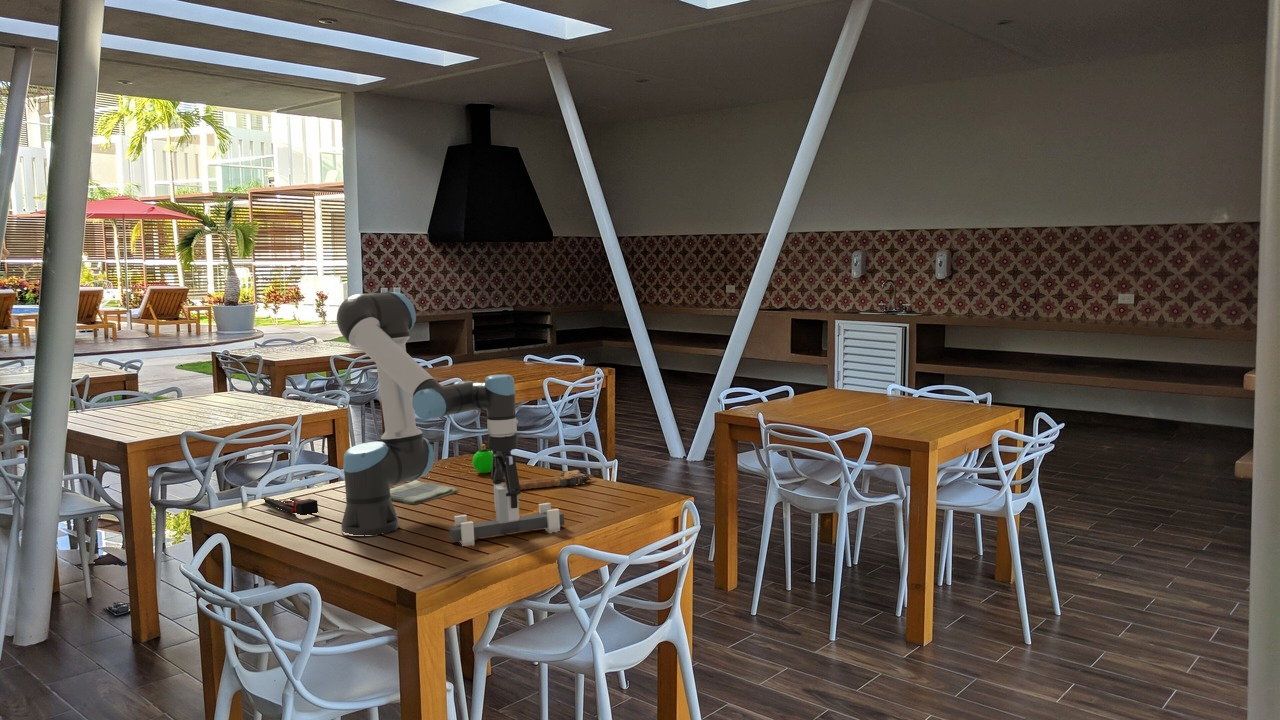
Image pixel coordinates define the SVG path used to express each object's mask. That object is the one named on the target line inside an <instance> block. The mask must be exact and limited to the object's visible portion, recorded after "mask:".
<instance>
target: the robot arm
mask: <svg viewBox="0 0 1280 720" xmlns="http://www.w3.org/2000/svg"><path fill="white" fill-rule="evenodd" d="M416 321H417V314H416V309H415V306H414V304H413V302H412V301H411V299H410V298H408V297H407V296H406V295H405V294H404V293H402V292H396V291H384V292H371V293H357V294H356V293H355V294H353V295H349V296H348V297H347V298H345V299H344V300H343V301H342V302H341V304H340V305H339V307H338V310H337V314H336V323H337V325H336V326H337V328H338V330H339V332H340V333H341V335H342V337H343V338H344V339H345V340H346V341H347V343H349V344H350V345H351V346H352V347H353V348H360V349H361V351H363V353H365V355H367V356H368V357H369V358H370V359H371V360H372V361H373V362H374V363H375V364H376V370H377V371H376V372H377V378H378V379H377V380H378V387H379V394H380V400H381V401H380V402H381V407H382V409H381V410H382V416H383V422H384V423H383V424H384V433H383V434H382V435H381V437H380V441H369V442H362V443H359V444H357V445H354V446H351V447H350V448H348V449H347V450H346V451H345V452H344V454H343V465H342V467H343V474H344V487H345V488H344V489H345V498H346V505H345V509H344V513H343V517H342V522H341V525H340V526H341V532H342V531H343V532H345V533H349V534H353V535H364V536H365V535H376V534H382V533H386V534H388V533H387V532H389V533H391V531H392V532H394V531H396V530H398V528H399V527H400V523H399V521H400V520H399V517H398V514H397V512H396V510H395V507H394V504H393V501H391V498H390V489H391V487H394V486H397V485H400V484H403V483H408V482H412V481H414V480H419V479H420V478H423V477H425V476H426V475H428V473H430V471H431V470H432V467H433V465H434V462H435V453H434V452H435V451H434V448H433V445H432V443H430V441H429V439H427V438H425V437H424V435H423V431H422V430H421V429H420V428H418V427H417V425H416V417H418V418H420V419H422V420H430V419H431V420H433V419H438V418H441V417H447V416H450V415H457V414H459V413H465V412H469V411H485V412H486V418H487V419H486V422H487V434H488V435H489V436H488V441H487V442H488V450H489V451H491V452H492V453H493V459H492V471H490V472H491V476H490V479H491V481H492V483H493V498H494V502H495V489H494V487H495V486H502V485H506V486H507V490H508V493H506V497H507V502H508V520H509V521H512V520H518V519H519V516H520V504H519V503H520V502H519V495H521V494H522V493H521V492H522V490H520V485H519V481H520V480H519V474H518V469H517V461H516V456H515V455H512V453H511V452H512V451H513V450H516V449H517V448H518V447H519V444H518V434H517V432H518V430H517V429H518V427H517V424H518V423H519V420H518V419H517V410H516V409H517V408H516V386H515V380H514V377H513V375H510V374H491V375H488V376H486V377H485V379H484V381H474V380H473V381H471V380H458V381H455V382H454V383H453V384H449V385H445V386H444V385H442V384H440V383H439V382H438V381H437V379H435V378H434V377H433V376H432V375H431V374H430V373H428V371H427V370H426V369H424V368H423V367H422V365H420V363H418V362H417V361H416V360H415V359H414V358H413V357H412V356H410V355H411V354H409V353H407V348H406V343H407V342H408V340H409V339H410V338H411V335H410V331H411V330H412V329H413V328H414V326H415V323H416ZM415 415H416V417H415ZM494 509H495V510H496V507H495V506H494ZM393 530H394V531H393ZM382 535H383V534H382Z"/></svg>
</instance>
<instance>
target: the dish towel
mask: <svg viewBox="0 0 1280 720" xmlns="http://www.w3.org/2000/svg"><path fill="white" fill-rule="evenodd" d="M458 492H459V490H458V488H456V487H454V486H446V485H443V484H439V483H435V482H432V481H429V482H423V481H419V480H418V479H416V480H414V481H408V482H406V483H405V484H401V485H399V486H395V487H392V488H390V498H391V500H392V501H391V502H396V501H397V503H401V504H406V503H407V504H406V505H412V504H413V505H412V506H414V504H415V505H418V503H419V504H422V503H425V502H424V501H426V502H429V501H428V500H430V501H432V499H433V500H436V499H440V498H444V497H447V496H450V495H453V494H457V493H458ZM421 502H422V503H421Z"/></svg>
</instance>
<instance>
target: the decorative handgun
mask: <svg viewBox="0 0 1280 720" xmlns="http://www.w3.org/2000/svg"><path fill="white" fill-rule="evenodd" d="M562 472H565V473H562ZM562 472H561V474H560V475H559V476H553V477H542V478H534V479H526V480H525V479H524V480H519V485H520V490H521V491H522V490H523V489H524V490H531V489H532V488H533V489H539V488H553V487H552V486H557V487H568V486H567V485H570V486H572V485H575V486H577V485H576V484H583V483H586V484H587V482H589V481H592V480H593V479H594V475H593V474H589V473H588V474H586V473H582V474H581V471H580V470H579V469H573V470H563V471H562ZM569 473H571V474H569ZM562 474H563V475H562ZM572 474H573V475H572ZM574 474H577V475H578V476H577V475H574ZM579 475H581V476H579ZM583 476H586V477H583ZM589 477H590V478H593V479H590V478H589ZM588 480H589V481H588ZM533 489H532V490H533Z"/></svg>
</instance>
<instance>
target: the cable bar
mask: <svg viewBox="0 0 1280 720" xmlns="http://www.w3.org/2000/svg"><path fill="white" fill-rule="evenodd" d="M494 489H495V501H494V508H495V507H496V509H495V519H493V520H487V521H479V522H475V523H474V522H473V526H474V540H475V539H481V538H488V537H495V536H502V535H507V534H514V533H520V532H527V531H533V530H539V529H540V530H541V529H543V528H548V524H547V512H546V513H539V512H538V513H533V514H527V515H521V516H520V515H519V519H518V520H512V521H509V520H508V502H507V497H506V493H508V490H507V486H506V484H504V485H502V486H495V487H494V486H493V490H494ZM559 520H560V527H561V526H565V513H564V512H562V511H561V510H559ZM448 531H449V539H450V540H451V541H452V542H453V543H455V542H458V541H462V539H461V525H458V526H455V525H452V526H448Z"/></svg>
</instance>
